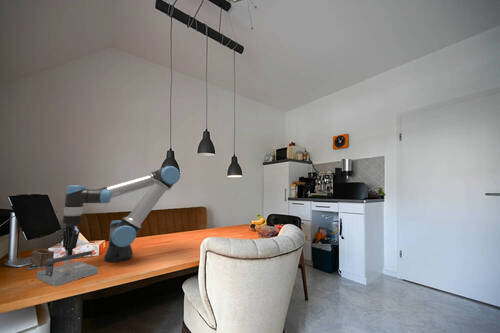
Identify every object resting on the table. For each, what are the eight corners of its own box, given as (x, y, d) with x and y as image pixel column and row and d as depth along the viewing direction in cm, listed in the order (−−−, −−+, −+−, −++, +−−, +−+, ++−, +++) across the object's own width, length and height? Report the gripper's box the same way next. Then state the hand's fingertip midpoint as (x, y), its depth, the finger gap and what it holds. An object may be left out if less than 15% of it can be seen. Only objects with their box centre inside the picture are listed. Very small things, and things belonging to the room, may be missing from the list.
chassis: (78, 267, 116) (79, 253, 117) (97, 273, 108) (98, 258, 109) (35, 278, 101) (37, 262, 101) (54, 286, 93) (56, 269, 93)
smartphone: (25, 271, 110) (25, 268, 110) (36, 262, 123) (36, 260, 123) (46, 268, 114) (46, 266, 114) (54, 260, 127) (55, 258, 127)
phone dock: (42, 261, 123) (44, 248, 124) (52, 265, 118) (54, 251, 119) (30, 264, 119) (31, 250, 120) (39, 268, 113) (41, 254, 114)
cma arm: (47, 265, 96) (47, 260, 97) (44, 264, 98) (44, 259, 98) (92, 255, 113) (93, 251, 113) (89, 254, 114) (89, 250, 115)
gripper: (57, 214, 111) (52, 262, 108) (70, 216, 105) (64, 267, 102) (75, 213, 118) (69, 258, 115) (87, 215, 112) (82, 262, 109)
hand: (67, 262), depth 109 cm, fingers closed
